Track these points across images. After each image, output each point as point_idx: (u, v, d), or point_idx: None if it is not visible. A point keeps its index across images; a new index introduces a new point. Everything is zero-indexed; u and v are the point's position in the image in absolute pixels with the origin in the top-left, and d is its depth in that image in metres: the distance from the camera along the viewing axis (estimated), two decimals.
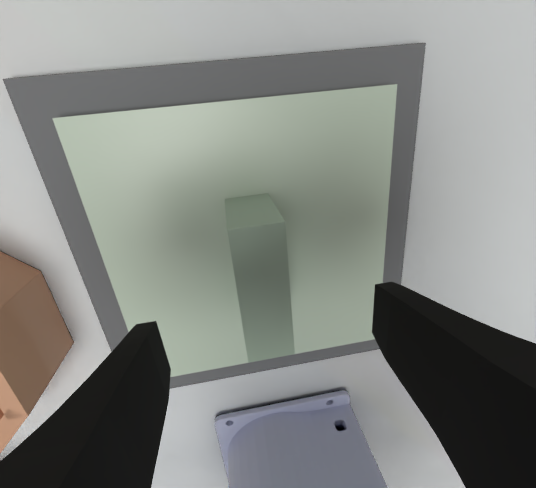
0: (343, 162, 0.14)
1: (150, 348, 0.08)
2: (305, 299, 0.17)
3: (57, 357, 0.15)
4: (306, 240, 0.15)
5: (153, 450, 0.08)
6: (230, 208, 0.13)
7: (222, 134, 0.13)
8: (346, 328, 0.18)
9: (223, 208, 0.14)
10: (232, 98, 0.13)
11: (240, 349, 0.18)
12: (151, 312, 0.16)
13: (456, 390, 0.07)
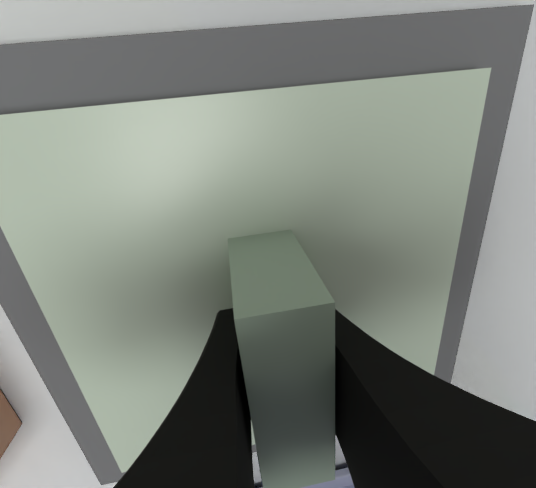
0: (402, 184, 0.10)
1: None
2: None
3: None
4: (342, 291, 0.11)
5: (250, 430, 0.08)
6: (236, 260, 0.08)
7: (224, 144, 0.08)
8: None
9: (225, 251, 0.10)
10: (239, 89, 0.08)
11: None
12: (125, 390, 0.11)
13: (350, 412, 0.07)
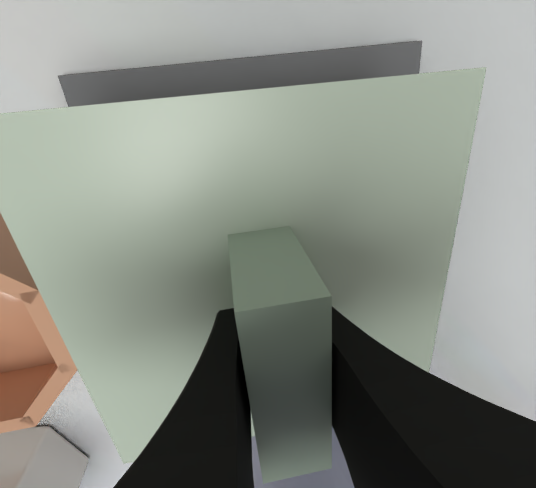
0: (398, 181, 0.10)
1: None
2: None
3: None
4: (340, 286, 0.11)
5: (250, 430, 0.08)
6: (236, 255, 0.08)
7: (224, 142, 0.08)
8: None
9: (225, 247, 0.10)
10: None
11: None
12: (127, 383, 0.11)
13: (349, 412, 0.07)
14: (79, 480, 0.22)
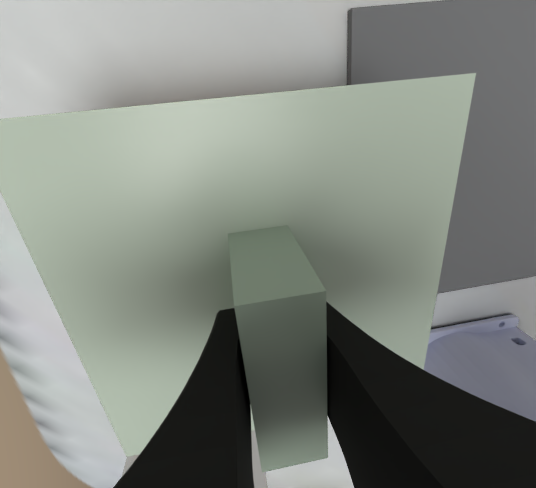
0: (392, 182, 0.10)
1: None
2: None
3: None
4: (336, 283, 0.11)
5: (250, 430, 0.08)
6: (236, 253, 0.09)
7: (225, 145, 0.09)
8: None
9: (226, 246, 0.10)
10: (512, 29, 0.15)
11: None
12: (130, 378, 0.12)
13: (350, 412, 0.07)
14: None
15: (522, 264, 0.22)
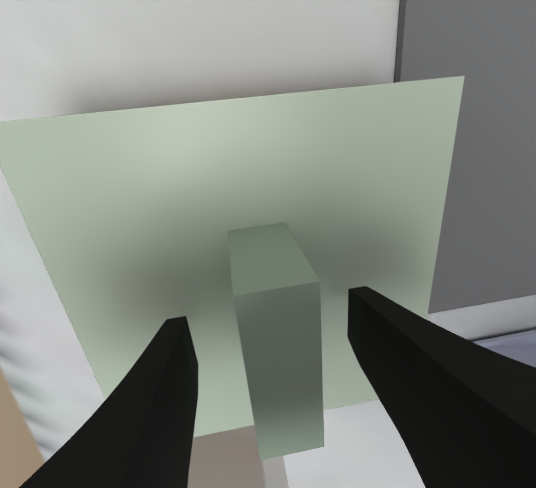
0: (386, 181, 0.11)
1: (183, 342, 0.09)
2: (328, 350, 0.13)
3: None
4: (333, 280, 0.12)
5: (188, 443, 0.08)
6: (235, 248, 0.09)
7: (224, 145, 0.09)
8: None
9: (225, 242, 0.11)
10: None
11: (246, 410, 0.14)
12: None
13: (419, 398, 0.07)
14: None
15: None
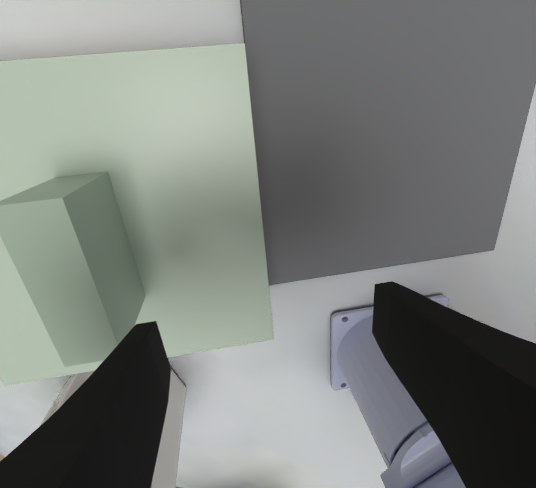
0: (195, 136, 0.12)
1: (150, 348, 0.08)
2: (178, 294, 0.15)
3: None
4: (166, 227, 0.14)
5: (153, 450, 0.08)
6: (40, 185, 0.11)
7: (36, 99, 0.11)
8: (234, 327, 0.16)
9: None
10: None
11: None
12: None
13: (456, 390, 0.07)
14: (183, 404, 0.23)
15: (446, 242, 0.22)
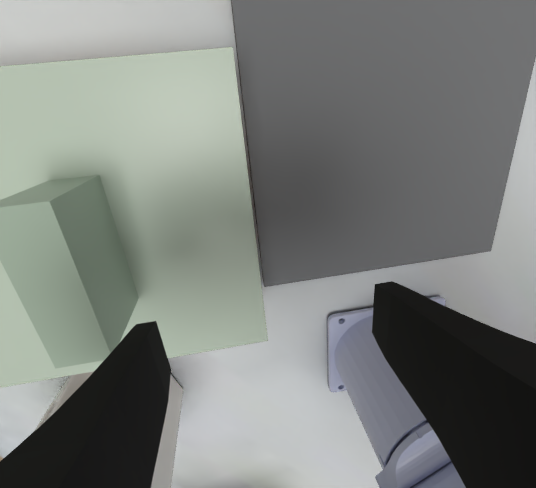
0: (185, 139, 0.12)
1: (150, 348, 0.08)
2: (171, 296, 0.15)
3: None
4: (158, 229, 0.14)
5: (153, 450, 0.08)
6: (30, 189, 0.11)
7: (27, 104, 0.11)
8: (227, 329, 0.16)
9: None
10: None
11: None
12: None
13: (456, 390, 0.07)
14: (180, 406, 0.23)
15: (442, 243, 0.22)
